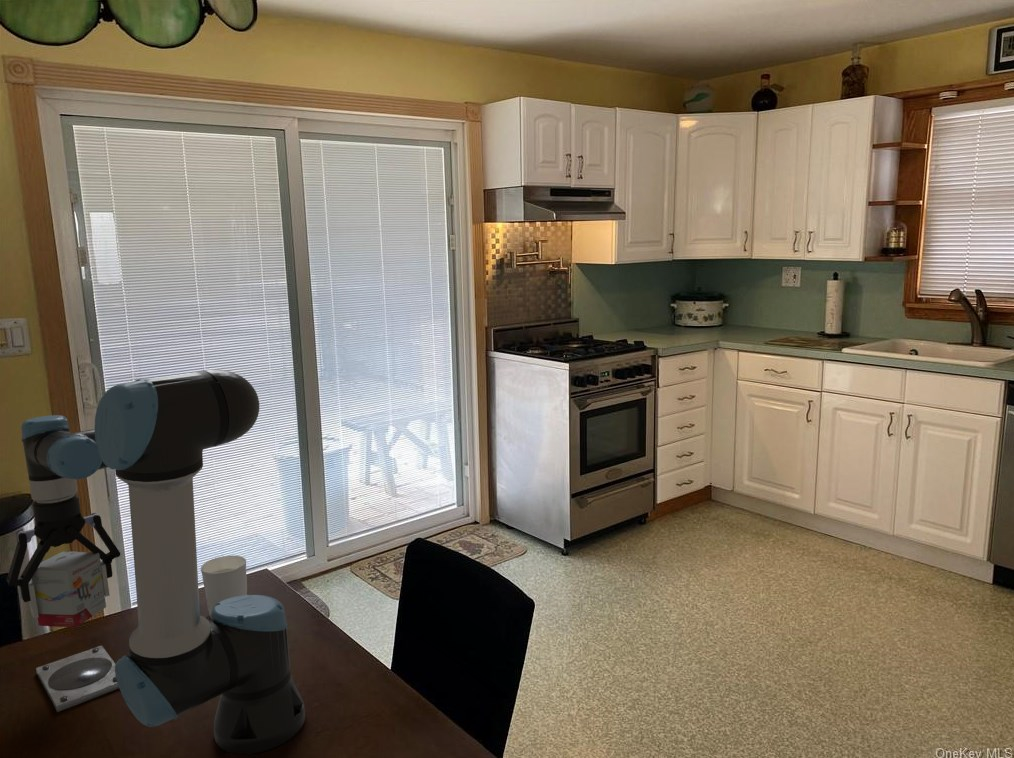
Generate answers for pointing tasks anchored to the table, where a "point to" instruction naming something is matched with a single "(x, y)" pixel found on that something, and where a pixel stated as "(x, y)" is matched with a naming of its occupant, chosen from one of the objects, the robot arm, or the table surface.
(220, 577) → the candle holder
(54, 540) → the robot arm
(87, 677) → the flange
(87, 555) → the ink box
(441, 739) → the table surface
